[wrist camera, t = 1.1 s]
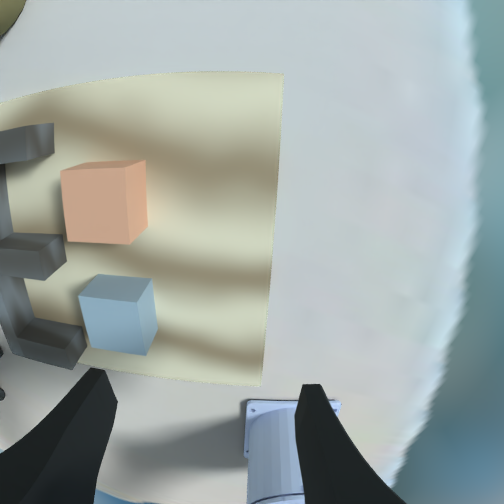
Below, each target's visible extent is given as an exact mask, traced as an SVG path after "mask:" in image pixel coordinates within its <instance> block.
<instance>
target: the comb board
mask: <svg viewBox="0 0 504 504" xmlns="http://www.w3.org/2000/svg"><path fill="white" fill-rule="evenodd" d="M283 84H284V74H280V73H264V72H238V71H201V72H175V73H160V74H148V75H137V76H128V77H120V78H112V79H105V80H99V81H92V82H86V83H81V84H75V85H70V86H65V87H60V88H56V89H51V90H47V91H42V92H38V93H34V94H30V95H27V96H23V97H19V98H16V99H12V100H9V101H5V102H2V103H0V324H1V326H2V329H3V332H4V334H5V337H6V339H7V342H8V344H9V346H10V349H11V351H12V353H13V354H16V355H19V356H23V357H26V358H29V359H33V360H36V361H40V362H43V363H47V364H50V365H54V366H58V367H62V368H66V369H70V370H73V368H74V366H75V365H76V363H80V364H85V365H89V366H94V367H99V368H104V369H109V370H115V371H120V372H126V373H132V374H138V375H145V376H152V377H159V378H166V379H174V380H183V381H192V382H201V383H212V384H225V385H240V386H259V387H261V379H262V368H263V358H264V347H265V336H266V325H267V314H268V302H269V290H270V278H271V266H272V253H273V240H274V227H275V213H276V199H277V184H278V169H279V154H280V138H281V121H282V103H283ZM123 160H146V197H147V218H148V227H147V228H146V229H145V230H144V231H143V232H142V233H141V234H140V235H139V236H138V237H137V238H136V239H135V240H134V241H133V242H132V243H131V244H130V245H126V244H107V243H89V242H70V241H68V239H67V233H66V225H65V218H64V209H63V200H62V190H61V177H60V171H61V170H64V169H67V168H70V167H73V166H76V165H79V164H82V163H86V162H100V161H123ZM98 274H105V275H117V276H128V277H141V278H152V282H153V292H154V301H155V309H156V317H157V325H158V330H157V332H156V334H155V337H154V339H153V341H152V343H151V346H150V348H149V350H148V353H147V355H146V356H142V355H135V354H129V353H122V352H116V351H110V350H104V349H98V348H93V347H91V344H90V341H89V337H88V333H87V330H86V326H85V322H84V318H83V314H82V310H81V306H80V302H79V297H78V295H79V294H80V293H81V292H82V291H83V290H84V289H85V288H86V286H87V285H88V284H89V283H90V282H91V281H92V280H93V279H94V278H95V277H96V276H97V275H98Z"/></svg>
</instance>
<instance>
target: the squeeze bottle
mask: <svg viewBox="0 0 504 504" xmlns="http://www.w3.org/2000/svg"><path fill="white" fill-rule="evenodd" d="M25 2H26V0H0V36H1V35H3V34H4V33H5V32H6V31H7V30H8V29H9V28H10V27H11V26H12V24H13V23H14V22H15V21H16V19H17V17H18V16H19V14H20V12H21V11H22V9H23V7H24V4H25Z"/></svg>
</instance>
